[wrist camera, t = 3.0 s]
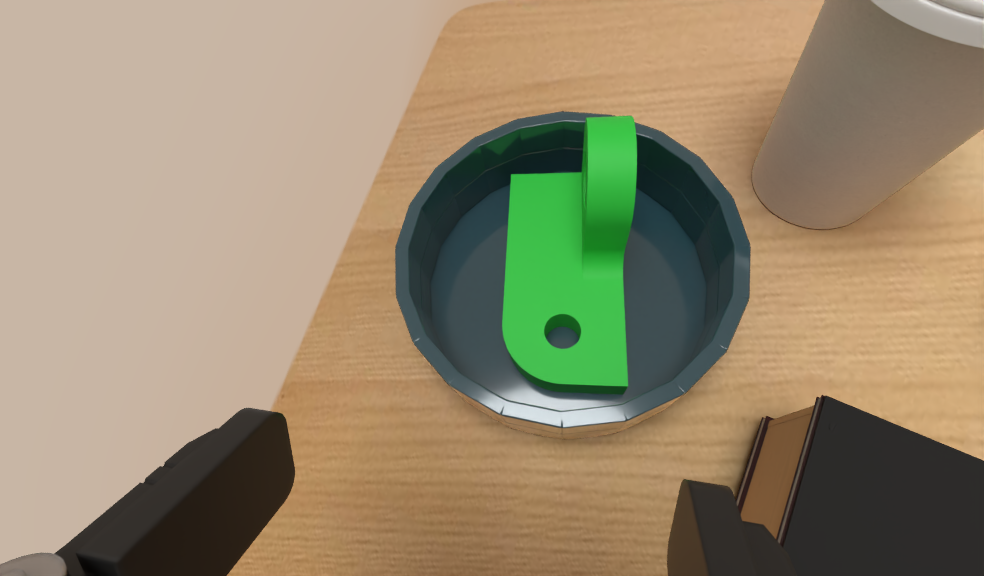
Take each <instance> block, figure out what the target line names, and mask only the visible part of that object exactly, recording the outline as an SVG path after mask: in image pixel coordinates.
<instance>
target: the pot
mask: <svg viewBox="0 0 984 576" xmlns="http://www.w3.org/2000/svg"><path fill="white" fill-rule="evenodd" d="M613 116H614V115H613ZM613 116H612V115H606V114H592V113H579V112H564V111H562V112H556V113H550V114H544V115H538V116H532V117H526V118H520V119H517V120H514V121H511V122H509V123H507V124H505V125H502V126H500V127H498V128H495V129H493V130H491V131H488V132H486V133H484V134H482V135H479V136H477V137H475V138H474V139H472V140H470V141H469V142H468V143H467V144H465V145H464V146H463V147H461V148H460V149H459V150H458V151H456V152H455V153H454V154H453V155H451V156H450V157H449V158H447V159H446V160H445V161H444V162H442V163H441V164H440V165H439V166H438V167H436V168H435V170H434V171H433V173H432V174H431V175H430V177H429V178H428V179H427V181H426V182H425V184H424V185H423V186H422V188H421V189H420V191H419V192H418V193H417V195H416V196H415V197H414V199H413V200H412V202H411V203H410V205H409V208H408V211H407V214H406V217H405V220H404V223H403V226H402V229H401V232H400V235H399V238H398V241H397V244H396V247H395V248H396V249H395V268H396V298H397V301H398V304H399V306H400V309H401V312H402V314H403V317H404V320H405V322H406V325H407V328H408V330H409V333H410V336H411V338H412V341H413V343H414V345H415V346H416V347H417V348H418V350H419V351H420V352H421V353H422V354H423V356H424V357H425V358H426V359H427V360H428V361H429V363H430V364H431V365H432V366H433V367H434V369H435V370H436V371H437V372H438V373H439V374H440V376H441V377H442V378H443V379H444V380H445V382H446V383H447V384H448V385H449V386H450V387H451V388H452V389H453V390H454V391H455V392H456V393H458V394H459V395H460V396H461V397H462V398H463V399H464V400H465V401H466V402H467V403H469V404H470V405H472V406H474V407H475V408H477V409H479V410H480V411H482V412H483V413H485V414H487V415H488V416H490V417H491V418H493V419H495V420H496V421H498V422H501V423H502V424H504V425H506V426H507V427H510V428H511V429H516V430H520V431H524V432H527V433H531V434H534V435H539V436H546V437H553V438H558V439H570V438H587V437H595V436H602V435H606V434H615V433H618V432H620V431H622V430H624V429H626V428H628V427H631V426H633V425H635V424H638V423H640V422H642V421H644V420H646V419H647V418H649V417H651V416H654V415H656V414H658V413H660V412H662V411H663V410H665V409H666V408H667V407H669V406H670V405H671V404H672V403H674V402H675V401H676V400H678V399H679V398H680V397H682V396H683V395H684V394H685V393H686V392H687V391H688V390H689V389H690V388H691V387H692V386H693V385H694V384H695V383H696V382H697V381H698V380H699V379H700V378H701V377H702V376H703V375H704V374H705V373H706V372H707V371H708V370H709V369H710V368H711V367H712V366H713V365H714V364H715V363H716V362H717V361H718V360H719V359H720V358H721V357H722V356H723V355H724V354H725V353H726V352H727V350H728V348H729V346H730V343H731V341H732V339H733V336H734V334H735V332H736V329H737V327H738V325H739V322H740V320H741V318H742V315H743V313H744V311H745V308H746V306H747V304H748V301H749V294H750V250H751V247H750V243H749V240H748V238H747V235H746V232H745V229H744V226H743V224H742V221H741V218H740V215H739V212H738V210H737V207H736V204H735V201H734V199H733V198H732V196H731V194H730V193H729V192H728V191H727V190H726V188H725V187H724V186H723V185H722V183H721V182H720V181H719V180H718V178H717V177H716V176H715V175H714V173H713V172H712V171H711V170H710V169H709V167H708V166H707V165H706V164H705V162H704V161H703V160H702V159H701V158H700V157H699V156H697V155H696V154H694V153H693V152H691V151H690V150H688V149H687V148H685V147H684V146H682V145H681V144H679V143H678V142H676V141H675V140H673V139H672V138H670V137H669V136H667V135H666V134H664V133H663V132H661V131H659V130H656V129H653V128H650V127H647V126H644V125H641V124H638V123H635V122H634V123H635V129H636V140H637V177H636V194H635V204H634V212H633V219H632V224H631V228H630V232H629V236H628V240H627V244H626V247H625V252H624V260H623V288H624V309H625V331H626V352H627V373H628V387H627V389H626V391H625V392H624V394H623V395H620V394H595V393H569V392H555V391H550V390H547V389H544V388H541V387H539V386H537V385H535V384H533V383H532V382H530V381H529V380H527V379H526V378H525V377H524V376H523V375H522V374H521V373H520V372H519V371H518V369H517V368H516V367H515V365H514V363H513V362H512V359H511V357H510V355H509V352H508V349H507V347H506V344H505V341H504V337H503V330H502V320H503V303H504V286H505V269H506V252H507V236H508V219H509V202H510V185H511V174H545V173H581V172H582V159H583V144H584V129H585V120H586V118H590V117H613ZM546 340H547V341H548V342H549V344H551V345H552V346H554V347H556V348H559V349H567V348H570V347H572V346H574V345H575V344H576V343H577V342H578V341H579V337H578V335H577V334H576V333H575V332H574V331H573V330H572V329H570V328H568V327H557V328H554V329H553V330H551V331H550V332H549V333H548V335H547V337H546Z"/></svg>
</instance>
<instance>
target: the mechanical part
mask: <svg viewBox="0 0 984 576" xmlns="http://www.w3.org/2000/svg"><path fill="white" fill-rule="evenodd" d="M636 177H637V140H636V129H635V123H634V119H633V117H632V116H613V117H590V118H586V120H585V129H584V144H583V159H582V172H581V173H545V174H511V185H510V202H509V219H508V236H507V252H506V269H505V286H504V303H503V320H502V330H503V337H504V341H505V344H506V347H507V349H508V352H509V355H510V357H511V359H512V362H513V363H514V365H515V367H516V368H517V369H518V371H519V372H520V373H521V374H522V375H523V376H524V377H525V378H526V379H527V380H529V381H530V382H532V383H533V384H535V385H537V386H539V387H541V388H544V389H547V390H550V391H555V392H569V393H595V394H620V395H623V394H624V392H625V391H626V389H627V387H628V373H627V352H626V331H625V309H624V288H623V260H624V252H625V247H626V244H627V240H628V236H629V232H630V228H631V224H632V219H633V212H634V204H635V194H636ZM557 327H568V328H570V329H572V330H573V331H574V332H575V333H576V334H577V335H578V337H579V341H578V342H577V343H576V344H575V345H574V346H572V347H570V348H567V349H559V348H556V347H554V346H552V345H551V344H549V342H548V341H547V340H546V337H547V335H548V333H549V332H550V331H551V330H553V329H554V328H557Z"/></svg>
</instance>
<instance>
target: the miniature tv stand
mask: <svg viewBox="0 0 984 576" xmlns="http://www.w3.org/2000/svg"><path fill="white" fill-rule="evenodd" d="M736 503H737V506H738V509H739V512H740V515H741V518H742V521H746V522H752V523H758V524H763V525H764V526H765V527H766V528H767V529H768V530H769V532H770V533H771V534H772V535H773V536H774V538H775V539H776V540H777V541H778V542H779V544H780V545H781V546H782V547H783V548H784V550H785V551H786V552H787V553H788V555H789V557H790V559H791V562H792V564H793V567H794V569H795V572H796V574H797V576H984V461H983V460H981V459H978V458H976V457H973V456H971V455H968V454H966V453H964V452H961V451H959V450H956V449H954V448H952V447H949V446H947V445H944V444H942V443H939V442H937V441H935V440H932V439H930V438H927V437H925V436H922V435H920V434H918V433H915V432H913V431H910V430H908V429H906V428H903V427H901V426H898V425H896V424H893V423H891V422H889V421H886V420H884V419H881V418H879V417H877V416H874V415H872V414H869V413H867V412H864V411H862V410H860V409H857V408H855V407H852V406H850V405H848V404H845V403H843V402H840V401H838V400H835V399H833V398H831V397H828V396H823V395H822V396H821V398H819V397H817V398H816V402H815V405H814V406H812V407H809V408H806V409H803V410H800V411H797V412H794V413H791V414H788V415H785V416H782V417H780V418H777V419H773V418H770V417H768V416H766V418H763V417H762V420H761V423H760V426H759V429H758V432H757V435H756V439H755V442H754V445H753V448H752V451H751V454H750V457H749V460H748V463H747V467H746V470H745V473H744V476H743V479H742V482H741V485H740V488H739V492H738V495H737V498H736Z"/></svg>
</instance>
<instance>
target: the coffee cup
mask: <svg viewBox="0 0 984 576" xmlns="http://www.w3.org/2000/svg"><path fill="white" fill-rule="evenodd" d="M983 129H984V0H825V2H824V4H823V6H822V9H821V11H820V13H819V16H818V18H817V20H816V22H815V25H814V27H813V29H812V32H811V34H810V36H809V39H808V41H807V43H806V46H805V48H804V50H803V52H802V55H801V57H800V59H799V62H798V64H797V66H796V68H795V71H794V73H793V75H792V78H791V80H790V82H789V84H788V87H787V89H786V91H785V94H784V96H783V98H782V100H781V103H780V105H779V107H778V110H777V112H776V114H775V116H774V119H773V121H772V123H771V126H770V128H769V130H768V132H767V135H766V137H765V139H764V142H763V144H762V146H761V148H760V151H759V153H758V155H757V158H756V160H755V162H754V165H753V168H752V183H753V187H754V190H755V192H756V194H757V196H758V198H759V199H760V200H761V202H762V203H763V204H764V205H765V206H766V207H767V208H768V209H769V210H770V211H771V212H772V213H774V214H775V215H777V216H778V217H780V218H781V219H783V220H785V221H787V222H790V223H792V224H795V225H798V226H801V227H806V228H812V229H833V228H839V227H843V226H846V225H849V224H851V223H853V222H855V221H857V220H858V219H860V218H861V217H862V216H864V215H865V214H867V213H868V212H869V211H871V210H872V209H874V208H875V207H876V206H878V205H879V204H880V203H882V202H883V201H885V200H886V199H887V198H889V197H890V196H891V195H893V194H894V193H896V192H897V191H898V190H900V189H901V188H902V187H904V186H905V185H907V184H908V183H909V182H911V181H912V180H914V179H915V178H916V177H918V176H919V175H920V174H922V173H923V172H925V171H926V170H927V169H929V168H930V167H931V166H933V165H934V164H936V163H937V162H938V161H940V160H941V159H942V158H944V157H945V156H947V155H948V154H949V153H951V152H952V151H954V150H955V149H956V148H958V147H959V146H960V145H962V144H963V143H965V142H966V141H967V140H969V139H970V138H972V137H973V136H974V135H976V134H977V133H978V132H980V131H981V130H983Z"/></svg>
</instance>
